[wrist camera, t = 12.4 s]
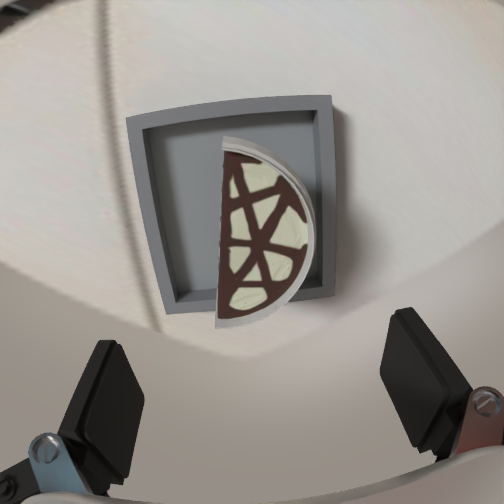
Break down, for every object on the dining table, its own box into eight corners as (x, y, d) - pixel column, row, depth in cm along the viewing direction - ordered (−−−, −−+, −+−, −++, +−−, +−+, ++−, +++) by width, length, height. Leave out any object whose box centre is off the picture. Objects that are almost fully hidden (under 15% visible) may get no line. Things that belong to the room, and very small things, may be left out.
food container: (284, 269, 30) (306, 336, 21) (218, 266, 29) (214, 335, 20) (300, 136, 25) (338, 149, 16) (225, 130, 24) (222, 138, 15)
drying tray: (321, 96, 24) (331, 94, 22) (326, 280, 32) (334, 295, 29) (136, 117, 24) (125, 117, 21) (171, 297, 32) (166, 314, 29)
